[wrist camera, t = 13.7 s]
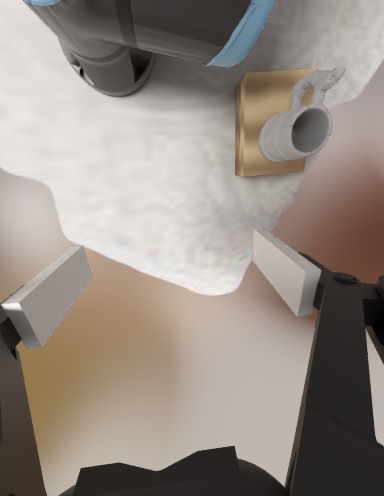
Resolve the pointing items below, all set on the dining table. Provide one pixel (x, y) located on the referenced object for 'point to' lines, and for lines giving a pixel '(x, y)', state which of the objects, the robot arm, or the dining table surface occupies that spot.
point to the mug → (300, 120)
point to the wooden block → (264, 118)
